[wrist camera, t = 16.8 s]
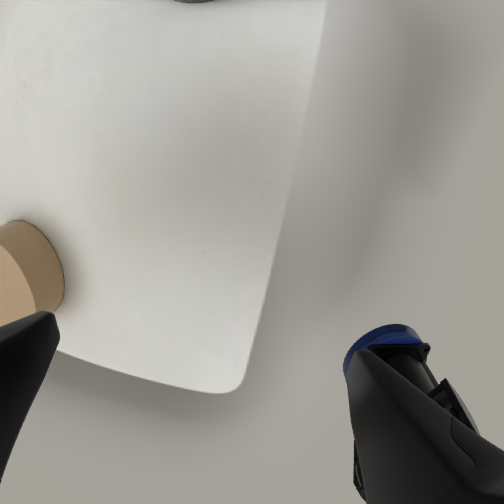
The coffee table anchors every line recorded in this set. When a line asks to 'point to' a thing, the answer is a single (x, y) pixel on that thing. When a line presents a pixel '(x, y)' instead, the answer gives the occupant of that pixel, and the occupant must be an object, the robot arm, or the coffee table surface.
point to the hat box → (27, 273)
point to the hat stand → (193, 1)
